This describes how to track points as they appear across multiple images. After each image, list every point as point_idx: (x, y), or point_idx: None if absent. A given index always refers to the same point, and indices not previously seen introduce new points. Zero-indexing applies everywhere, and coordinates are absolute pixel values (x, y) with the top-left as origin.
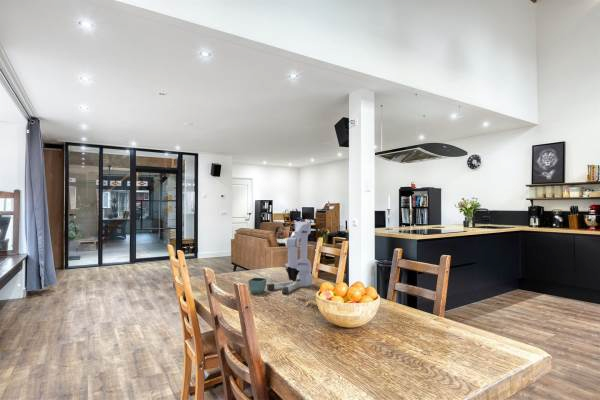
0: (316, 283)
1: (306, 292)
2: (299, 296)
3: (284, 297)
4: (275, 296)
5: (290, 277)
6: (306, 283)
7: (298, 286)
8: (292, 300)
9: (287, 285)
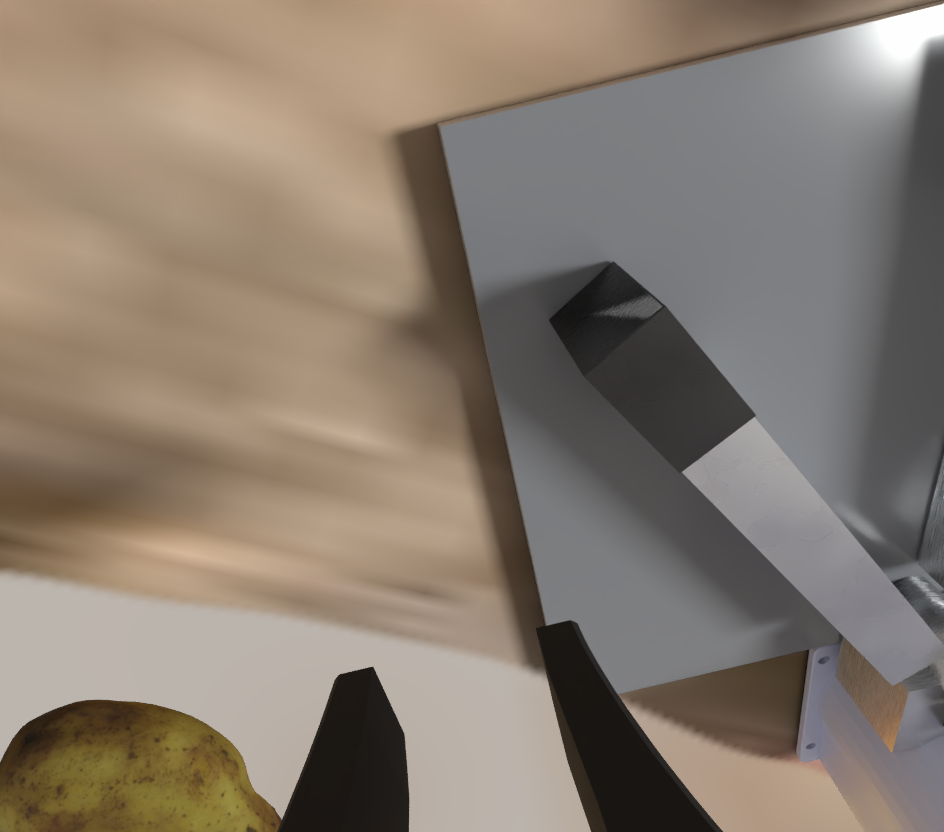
0: None
1: None
2: (444, 519)
3: None
4: None
5: (567, 733)
6: (849, 748)
7: None
8: (215, 347)
9: (810, 487)
